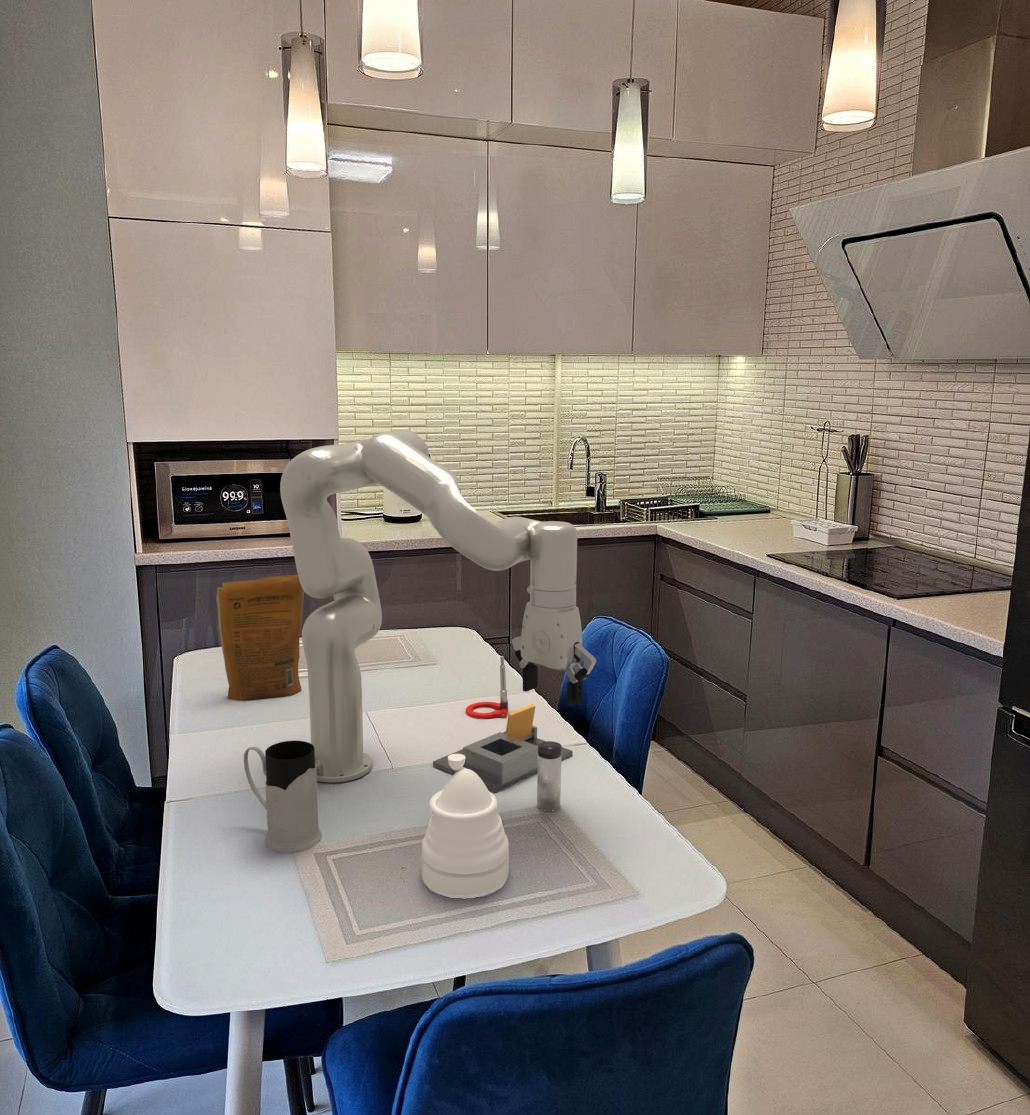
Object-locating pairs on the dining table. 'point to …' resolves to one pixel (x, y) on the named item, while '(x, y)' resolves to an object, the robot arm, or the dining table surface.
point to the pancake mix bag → (261, 636)
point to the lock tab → (521, 723)
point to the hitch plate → (500, 759)
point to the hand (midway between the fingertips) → (551, 696)
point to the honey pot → (464, 837)
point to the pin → (549, 775)
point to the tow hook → (502, 705)
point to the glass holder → (289, 795)
